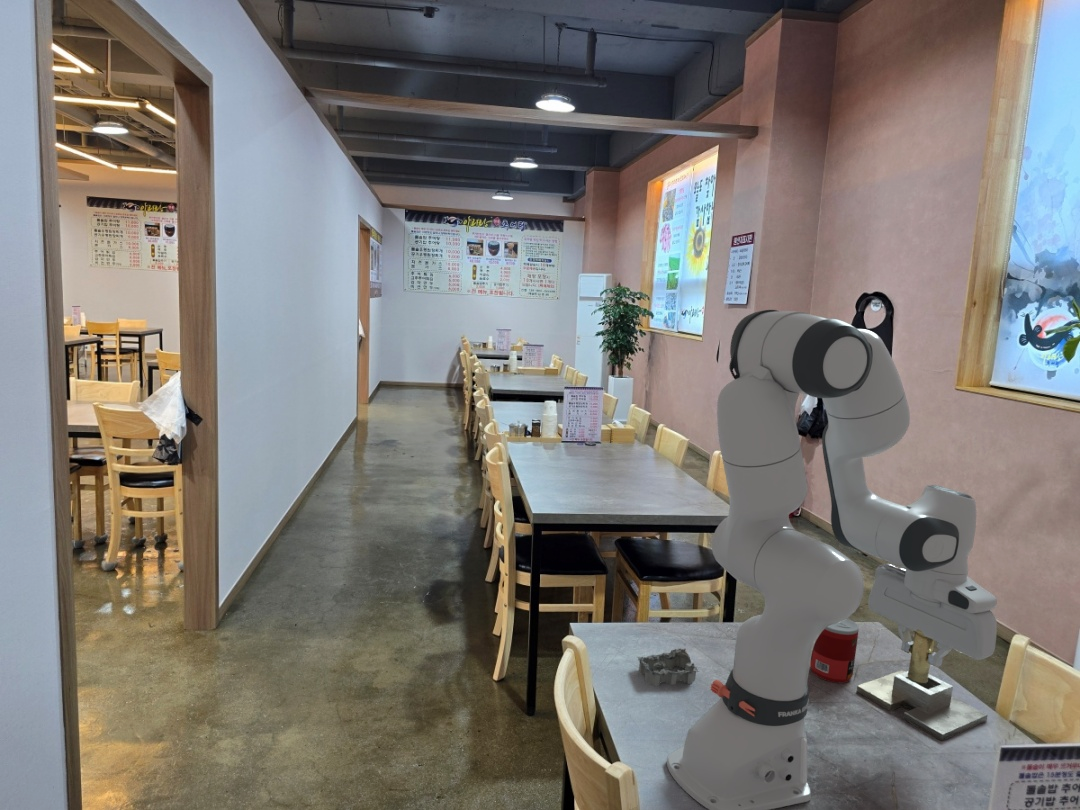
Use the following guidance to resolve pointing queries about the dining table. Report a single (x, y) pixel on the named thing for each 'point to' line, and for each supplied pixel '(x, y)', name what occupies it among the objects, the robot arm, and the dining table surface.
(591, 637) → the dining table surface
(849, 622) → the canned food
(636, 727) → the dining table surface
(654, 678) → the egg carton
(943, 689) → the silver plate with socket
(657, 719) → the dining table surface
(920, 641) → the hinge pin
